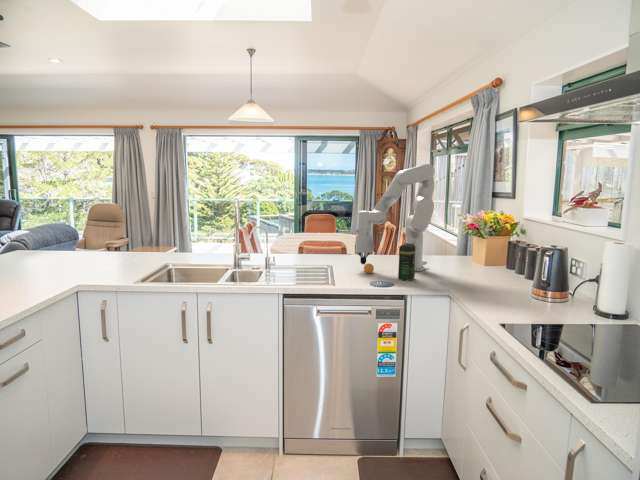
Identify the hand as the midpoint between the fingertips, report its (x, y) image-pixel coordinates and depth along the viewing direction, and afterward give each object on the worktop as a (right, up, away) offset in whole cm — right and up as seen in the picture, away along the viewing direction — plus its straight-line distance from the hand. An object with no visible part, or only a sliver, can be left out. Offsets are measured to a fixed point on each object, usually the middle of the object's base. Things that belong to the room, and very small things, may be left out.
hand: (363, 263), depth 235 cm
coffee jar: (+20, -7, -23) cm, 31 cm away
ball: (+2, -2, -9) cm, 10 cm away
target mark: (+6, -8, -33) cm, 35 cm away
